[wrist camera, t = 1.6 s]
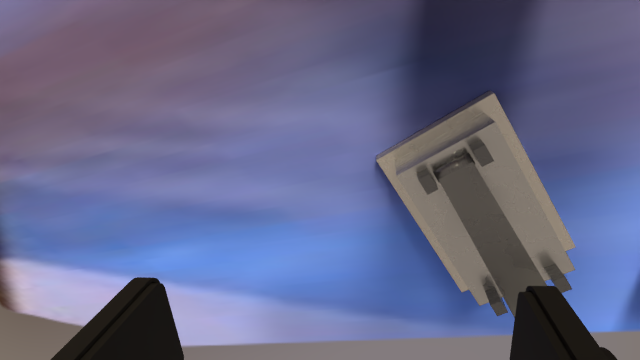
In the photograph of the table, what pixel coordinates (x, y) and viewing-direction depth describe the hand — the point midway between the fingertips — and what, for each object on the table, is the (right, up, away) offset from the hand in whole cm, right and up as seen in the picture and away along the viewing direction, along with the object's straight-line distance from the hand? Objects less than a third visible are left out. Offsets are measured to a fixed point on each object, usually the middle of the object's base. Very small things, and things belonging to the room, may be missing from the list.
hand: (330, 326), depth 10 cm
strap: (+14, -1, +19) cm, 23 cm away
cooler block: (+15, +2, +28) cm, 32 cm away
